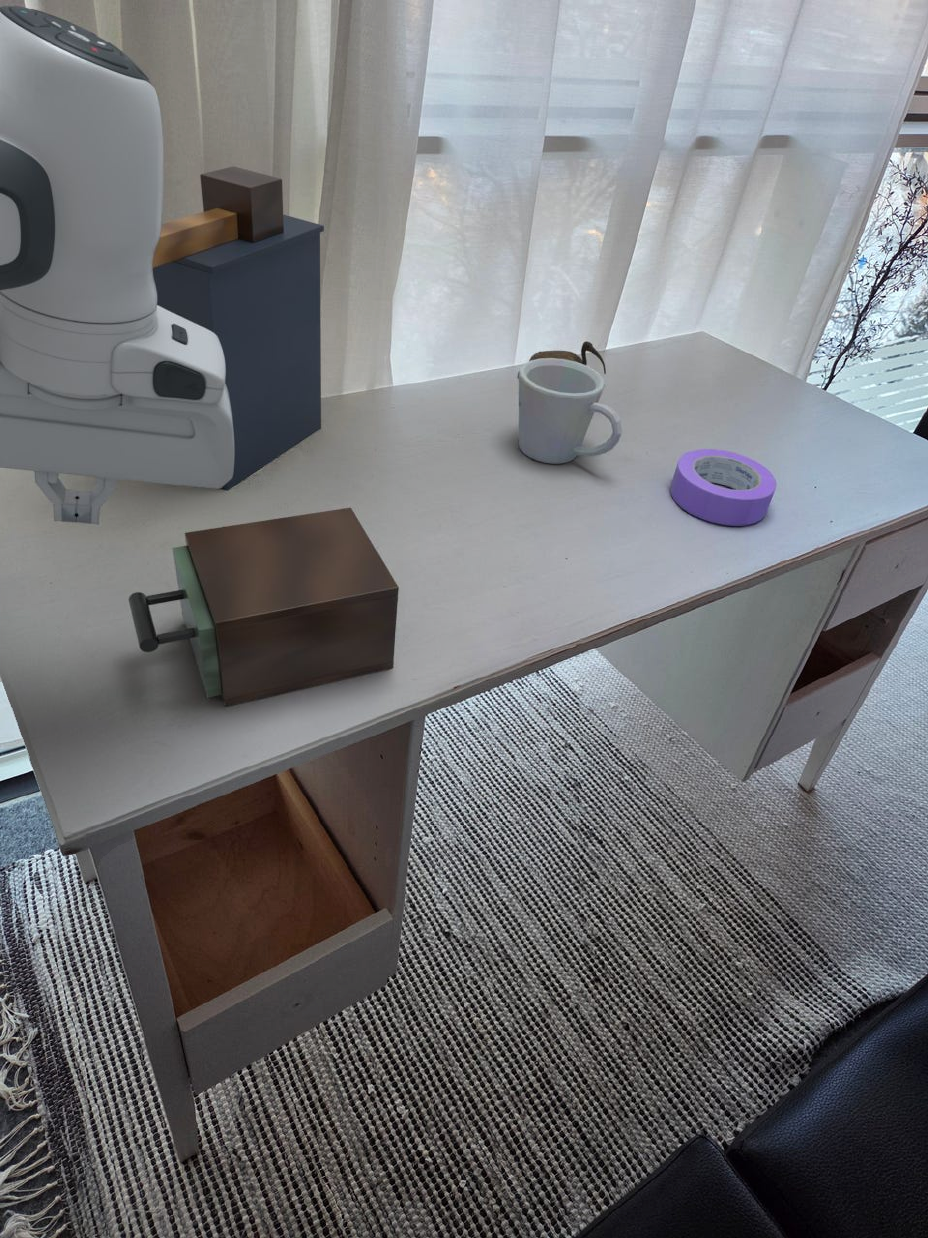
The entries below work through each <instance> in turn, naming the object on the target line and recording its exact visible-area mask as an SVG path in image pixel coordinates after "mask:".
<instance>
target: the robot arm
mask: <svg viewBox="0 0 928 1238" xmlns="http://www.w3.org/2000/svg"><path fill="white" fill-rule="evenodd" d="M163 133H164V132H163V122H162V113H161V107H160V101H159V97H158V94H157V91H156V88H155V86H154V85H153V84H152V82H151V81H150V78H149V77H148V76H147V75H146V73H145V72H144V71H143V70H142V69H141V67H139V65H138V64H137V63H135V61H134V60H133V59H132V58H131V57H129V56H128V55H127V54H126V53H125V52H124V51H123V50H121V49H120V48H118V47H117V46H116V45H114V44H113V43H112V42H110V41H106V40H105V39H104V38H102V37H100V36H98V35H97V34H96V33H94V32H92V31H89V30H88V29H86V28H84V27H82V26H79V25H77V24H75V23H72V22H70V21H68V20H66V19H63V18H61V17H58V16H55V15H53V14H51V13H48V12H44V11H42V10H39V9H35V8H28V7H25V6H21V5H12V6H11V5H2V6H0V469H9V470H10V469H11V470H20V471H31V472H34V483H35V484H36V485H37V487H38V488H39V489H40V490H41V492H42V493H43V494H44V495H45V497H46V498H47V499H48V500H49V502H50V503H52V504H53V522H61V523H73V524H77V523H78V524H86V525H100V515H101V514H100V513H101V508H102V507H103V506H104V504H105V503H106V502H107V501H108V500H109V499H110V498H111V497H112V496H113V494H114V493H115V492H116V491H117V490H118V480H122V481H131V482H132V481H134V482H144V483H152V484H153V483H155V484H165V485H175V486H183V487H184V486H185V487H194V488H195V487H196V488H205V489H213V490H214V489H216V490H217V489H221V487H222V486H224V485H225V484H226V483H227V482H229V481H230V480H231V479H232V477H233V471H234V432H233V421H232V411H231V404H230V398H229V393H228V389H227V386H226V384H225V378H226V365H225V357H224V353H223V349H222V346H221V343H220V341H219V339H218V337H217V335H216V334H214V333H213V332H212V331H210V330H208V329H206V328H204V327H202V326H200V325H197V324H195V323H193V322H191V321H189V320H187V319H185V318H182V317H180V316H178V315H176V314H174V313H172V312H170V311H168V310H166V309H164V308H162V307H160V306H158V305H157V290H156V286H155V282H154V278H153V268H152V264H153V256H154V252H155V249H156V246H157V244H158V241H159V239H160V236H161V231H162V224H163V215H164V189H165V188H164V187H165V186H164V183H165V181H164V180H165V174H164V173H165V165H164V164H165V163H164V161H165V159H164V134H163ZM60 474H62V475H71V476H83V477H92V478H94V486H93V487H92V488H91V490H77V489H67V488H66V486H64V484H63V482H62V481H61V480H60V478H59V475H60Z"/></svg>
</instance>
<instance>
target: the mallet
mask: <svg viewBox="0 0 928 1238" xmlns="http://www.w3.org/2000/svg"><path fill="white" fill-rule="evenodd" d="M199 176H200V188H201V189H200V190H201V198H202V209H203V211H202V212H199V213H195V214H192V215H188V216H185V217H181V218H177V219H173V220H172V221H167V222H165V223H162V231H161V236H160V239H159V241H158V244H157V246H156V249H155V252H154V256H153V264H152V268H155V267H158V266H160V265H163V264H166V263H169V262H172V261H175V260H178V259H181V258H184V257H187V256H189V255H192V254H195V253H198V252H201V251H204V250H207V249H210V248H213V247H216V246H218V245H221V244H224V243H227V242H230V241H233V240H236V239H242V240H245V241H248V242H252V243H255V242H258V241H260V240H263V239H266V238H269V237H272V236H274V235H277V234H280V233H283V232H284V221H283V214H284V196H283V195H284V193H283V179H282V178H280V177H277V176H276V177H275V176H272V175H269V174H264V173H261V172H257V171H253V170H249V169H245V168H241V167H238V166H229V167H224V168H221V169H217V170H213V171H209V172H205V173H200V174H199Z"/></svg>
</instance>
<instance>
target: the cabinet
mask: <svg viewBox="0 0 928 1238" xmlns="http://www.w3.org/2000/svg"><path fill="white" fill-rule="evenodd" d="M184 539H185V546H187V547H188V550H189V553H190V556H191V559H192V562H193V565H194V568H195V571H196V574H197V576H198V579H199V582H200V585H201V588H202V591H203V594H204V597H205V600H206V603H207V606H208V609H209V612H210V615H211V618H212V621H213V624H214V627H215V634H216V643H217V651H218V660H219V668H220V677H221V686H222V694H221V695H220V696H221V699H222V701H223V705H224V707H225V708H227V707H231V706H236V705H240V704H243V703H244V704H245V703H249V702H251V701H252V702H253V701H257V700H261V699H265V698H266V699H267V698H269V697H274V696H278V695H282V694H287V693H291V692H295V691H300V690H304V689H309V688H312V687H317V686H321V685H325V684H329V683H330V684H331V683H334V682H339V681H342V680H347V679H351V678H352V679H353V678H356V677H359V676H363V675H369V674H373V673H377V672H382V671H386V670H389V669H393V668H394V659H395V647H396V646H395V645H396V632H397V631H396V630H397V619H398V618H397V617H398V603H399V602H398V601H399V589H400V588H399V585H398V583H397V582H396V580H395V579H394V577H393V576H392V573H391V572H390V570H389V569H388V567H387V565H386V563H385V562H384V561H383V559H382V557H381V555H380V554H379V552H378V550H377V549H376V547H375V546H374V543H373V542H372V540H371V539H370V537H369V535H368V534H367V532H366V530H365V529H364V527H363V525H362V523H361V522H360V521H359V519H358V517H357V515H356V513H355V512H354V511H353V509H352V507H345V508H344V507H343V508H338V509H332V510H326V511H320V512H319V511H318V512H313V513H312V512H311V513H305V514H299V515H292V516H286V517H280V518H272V519H265V520H259V521H253V522H247V523H240V524H233V525H225V526H221V527H220V526H219V527H213V528H208V529H200V530H194V531H193V530H192V531H187V532H184Z"/></svg>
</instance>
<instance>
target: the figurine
mask: <svg viewBox="0 0 928 1238" xmlns="http://www.w3.org/2000/svg"><path fill="white" fill-rule="evenodd" d="M587 352H589V353H591V354H592V355H594V356H596V357H597V358H598V360H599V361H600V362H601V364H602V366H603V374H604V375H606V374H607V371H606V369H607V368H606V363H605V361H604V359H603V357H602V355H601V354H600V353H599V351H598V350H597V349H596V348H595V347H594V346H593V343H591V341H588V340H587V341H584V342H583V343H582V345H581V349H580V356H579V355H578V354H577V353H575V352H572V351H569V350H545V351H538V352H535V353H533V354H532V355H531V356H530V358H529V360H528V362H529V361H531V360H536V359H542V358H557V359H565V360H570V361H574V362H578V363H580V364H583V365H586V366H588V365H587V364H588V363H587V355H586V354H587ZM517 378H519V371H518V372H517Z"/></svg>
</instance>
